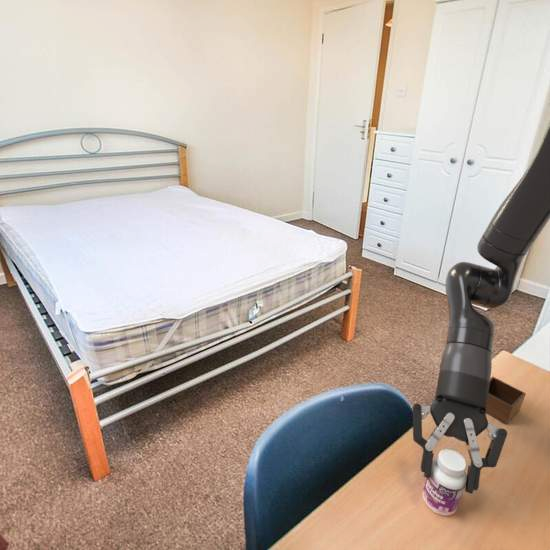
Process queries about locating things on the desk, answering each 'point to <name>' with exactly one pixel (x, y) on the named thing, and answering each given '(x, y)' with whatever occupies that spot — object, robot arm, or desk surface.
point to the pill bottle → (445, 482)
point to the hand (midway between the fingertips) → (447, 484)
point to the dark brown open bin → (503, 400)
